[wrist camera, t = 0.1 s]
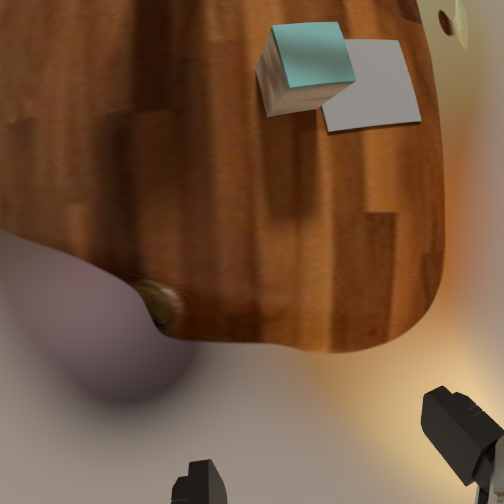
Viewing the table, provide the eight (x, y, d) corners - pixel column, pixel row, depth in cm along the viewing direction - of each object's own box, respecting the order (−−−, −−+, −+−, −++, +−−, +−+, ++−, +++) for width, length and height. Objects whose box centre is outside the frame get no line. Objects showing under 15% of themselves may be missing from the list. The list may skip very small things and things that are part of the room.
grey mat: (303, 42, 33) (303, 41, 33) (396, 41, 34) (397, 40, 34) (327, 132, 36) (328, 131, 36) (419, 121, 37) (421, 120, 36)
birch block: (255, 70, 34) (272, 25, 22) (303, 64, 34) (337, 21, 22) (267, 117, 35) (289, 87, 23) (316, 109, 35) (356, 80, 24)
